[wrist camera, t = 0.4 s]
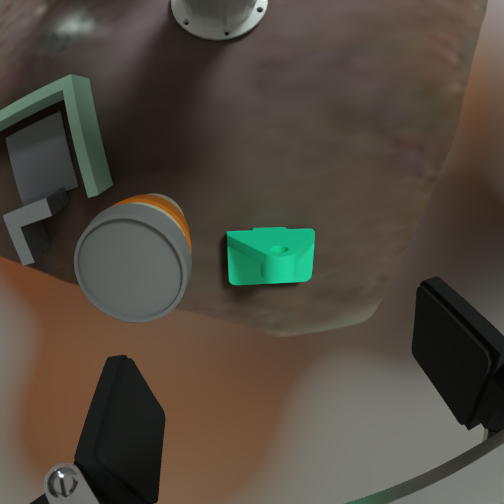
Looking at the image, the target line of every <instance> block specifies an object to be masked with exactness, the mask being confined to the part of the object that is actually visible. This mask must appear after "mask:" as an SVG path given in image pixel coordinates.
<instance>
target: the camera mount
mask: <svg viewBox="0 0 504 504" xmlns="http://www.w3.org/2000/svg"><path fill="white" fill-rule="evenodd" d="M314 240H315V231H314V230H313V229H286V227H274V228H253V230H248V231H227V245H228V273H229V281H230V283H231V284H233V285H253V284H272V283H290V282H305V281H308V280H309V279H310V278H311V276H312V266H313V253H314Z"/></svg>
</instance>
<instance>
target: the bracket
mask: <svg viewBox="0 0 504 504" xmlns="http://www.w3.org/2000/svg"><path fill="white" fill-rule="evenodd" d="M68 203H69V199H68V196H67V193H66V190H65V186H63V187H61V188H58V189H55V190H52V191H50V192H47V193H45V194H42V195H39V196H37V197H34V198H32V199H29V200H27V201H24V202H22V203H21V204H19V205H18V206H16V207H15V208H13V209H12V210H10V211H9V212H7V213H6V214H4V215H3V217H4V220H5V223H6V226H7V228H8V231H9V233H10V236H11V238H12V241H13V243H14V246H15V248H16V251H17V253H18V255H19V258H20V260H21V262H22V264H23V266H24V265H27V264H31V263H34V262H36V260H37V259H38V258H39V257H40V256H41V255H42V254H43V253H44V252H45V251H46V250H47V249H48V248H49V247H50V246H51V242H50V240H49V237H48V235H47V232H46V229H45V227H44V224H43V221H42V219H45V218H47V217H50V216H52V215H54V214H55V213H56V212H57V211H59V210H60V209H61V208H63V207H64V206H65V205H66V204H68Z"/></svg>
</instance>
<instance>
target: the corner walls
mask: <svg viewBox="0 0 504 504" xmlns="http://www.w3.org/2000/svg"><path fill="white" fill-rule="evenodd" d="M62 100H65V106H66V111H67V116H68V121H69V125H70V130H71V134H72V139H73V143H74V147H75V151H76V155H77V159H78V163H79V167H80V171H81V174H82V178H83V182H84V185H85V189H86V192H87V195H88V198H90V197H93V196H96V195H99V194H100V193H102V192H103V191H105V190H106V189H108V188H109V187H111V186H112V185H113V182H112V178H111V175H110V171H109V167H108V163H107V159H106V155H105V151H104V147H103V143H102V139H101V135H100V130H99V126H98V121H97V117H96V112H95V107H94V102H93V97H92V92H91V86H90V81H89V79H88V78H85V77H81V76H77V75H73V74H70V75H68V76H66V77H63V78H61V79H59V80H57V81H55V82H53V83H51V84H48V85H46V86H44V87H42V88H40V89H38V90H36V91H34V92H33V93H31V94H29V95H27V96H25V97H23V98H21V99H19V100H18V101H16V102H14V103H12V104H11V105H9V106H7V107H5V108H4V109H2V110H0V131H2V130H4V129H6V128H8V127H9V126H11V125H13V124H15V123H17V122H19V121H20V120H22V119H24V118H26V117H28V116H30V115H32V114H34V113H36V112H38V111H40V110H42V109H44V108H46V107H48V106H51V105H53V104H55V103H57V102H59V101H62Z"/></svg>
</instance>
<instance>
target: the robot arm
mask: <svg viewBox="0 0 504 504" xmlns="http://www.w3.org/2000/svg"><path fill="white" fill-rule="evenodd" d="M267 6H268V0H171V8H172V12H173V15H174V17H175V19H176V21H177V22H178V23H179V25H180V26H181V27H182V28H183V29H184V30H186V31H187V32H188V33H190V34H192V35H194V36H196V37H199V38H202V39H207V40H228V39H233V38H236V37H239V36H241V35H244V34H246V33H248V32H249V31H250V30H252V29H253V28H255V27H256V25H257V24H258V23H259V22H260V21H261V19H262V18H263V16H264V15H265V12H266V10H267ZM258 10H259V11H261V13H259V12H257V11H258ZM185 23H189V24H188V25H185ZM225 33H228V34H229V35H227V36H226V35H225ZM415 309H416V310H415V321H414V331H413V340H412V354H413V356H414V358H415V359H416V361H417V362H418V364H419V365H420V366H421V368H422V369H423V371H424V372H425V373H426V375H427V376H428V378H429V379H430V381H431V382H432V383H433V385H434V386H435V388H436V389H437V391H438V392H439V394H440V395H441V397H442V398H443V399H444V401H445V403H446V404H447V406H448V407H449V409H450V410H451V411H452V413H453V414H454V416H455V417H456V419H457V421H458V422H459V423H460V424H461V425H463V424H465V426H466V427H467V429H468V430H470V429H472V428H474V427H475V426H477V425H479V424H480V423H481V424H482V425H483V427H484V428H485V429H484V435H483V441H482V443H480V444H479V445H477V446H475V447H473V448H472V449H470V450H468V451H466V452H465V453H463V454H461V455H459V456H458V457H456V458H454V459H452V460H450V461H448V462H446V463H444V464H442V465H440V466H438V467H437V468H434V469H432V470H430V471H428V472H426V473H424V474H422V475H419V476H417V477H415V478H413V479H410V480H408V481H406V482H403V483H401V484H399V485H396V486H394V487H391V488H388V489H386V490H383V491H381V492H378V493H375V494H372V495H370V496H367V497H364V498H361V499H358V500H355V501H352V502H348V503H345V504H504V336H503V335H502V334H501V333H500V332H499V331H498V330H497V329H496V328H495V327H494V326H493V325H492V324H491V323H490V322H489V321H488V320H487V319H486V318H485V317H483V316H482V315H481V314H480V313H479V312H478V311H477V310H476V309H475V308H474V307H473V306H471V305H470V304H469V303H468V302H467V301H466V300H465V299H464V298H462V297H461V296H460V295H459V294H458V293H457V292H456V291H455V290H453V289H452V288H451V287H450V286H449V285H448V284H446V283H445V282H444V281H443V280H442V279H441V278H439V277H433V278H430V279H427V280H424V281H422V282H421V284H420V287H418V288H417V293H416V308H415ZM164 428H165V413H164V411H163V409H162V407H161V406H160V404H159V402H158V401H157V400H156V398H155V396H154V395H153V393H152V391H151V390H150V388H149V386H148V385H147V383H146V381H145V380H144V378H143V376H142V375H141V373H140V371H139V370H138V368H137V366H136V365H135V363H134V361H133V360H132V359H131V358H127V356H126V355H119V356H113V357H108V358H107V360H106V363H105V365H104V368H103V371H102V373H101V376H100V379H99V382H98V385H97V388H96V390H95V393H94V396H93V399H92V402H91V405H90V408H89V411H88V414H87V417H86V420H85V424H84V427H83V430H82V433H81V436H80V440H79V443H78V446H77V449H76V453H75V456H74V459H75V461H74V464H71V463H60V464H58V465H56V466H54V467H53V468H52V469H50V470H49V472H48V473H47V474H46V477H45V479H44V486H43V487H44V491H45V494H43V495H42V496H40V497H39V498H37V499H36V500H34V501H33V502H31V503H30V504H154V503H157V501H158V495H159V481H160V468H161V457H162V447H163V438H164Z"/></svg>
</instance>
